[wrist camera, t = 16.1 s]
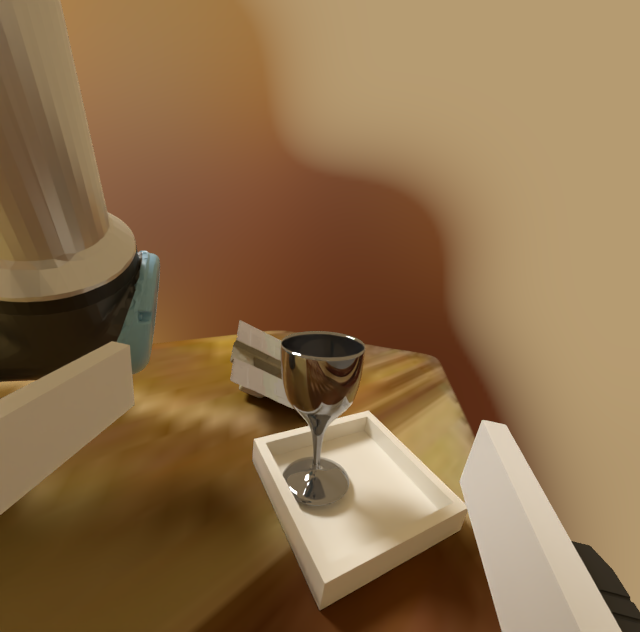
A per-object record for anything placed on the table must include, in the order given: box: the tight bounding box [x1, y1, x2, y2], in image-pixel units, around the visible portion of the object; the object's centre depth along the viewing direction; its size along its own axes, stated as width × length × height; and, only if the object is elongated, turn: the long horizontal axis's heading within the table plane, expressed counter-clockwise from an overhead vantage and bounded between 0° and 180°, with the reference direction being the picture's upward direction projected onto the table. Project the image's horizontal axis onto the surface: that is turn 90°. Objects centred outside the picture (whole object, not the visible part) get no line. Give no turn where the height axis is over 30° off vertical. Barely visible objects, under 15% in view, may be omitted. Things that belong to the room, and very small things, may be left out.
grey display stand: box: [230, 321, 294, 409], centre depth 50 cm, size 16×9×15 cm
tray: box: [252, 411, 468, 611], centre depth 34 cm, size 16×16×3 cm
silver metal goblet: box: [281, 331, 365, 506], centre depth 33 cm, size 8×8×15 cm
